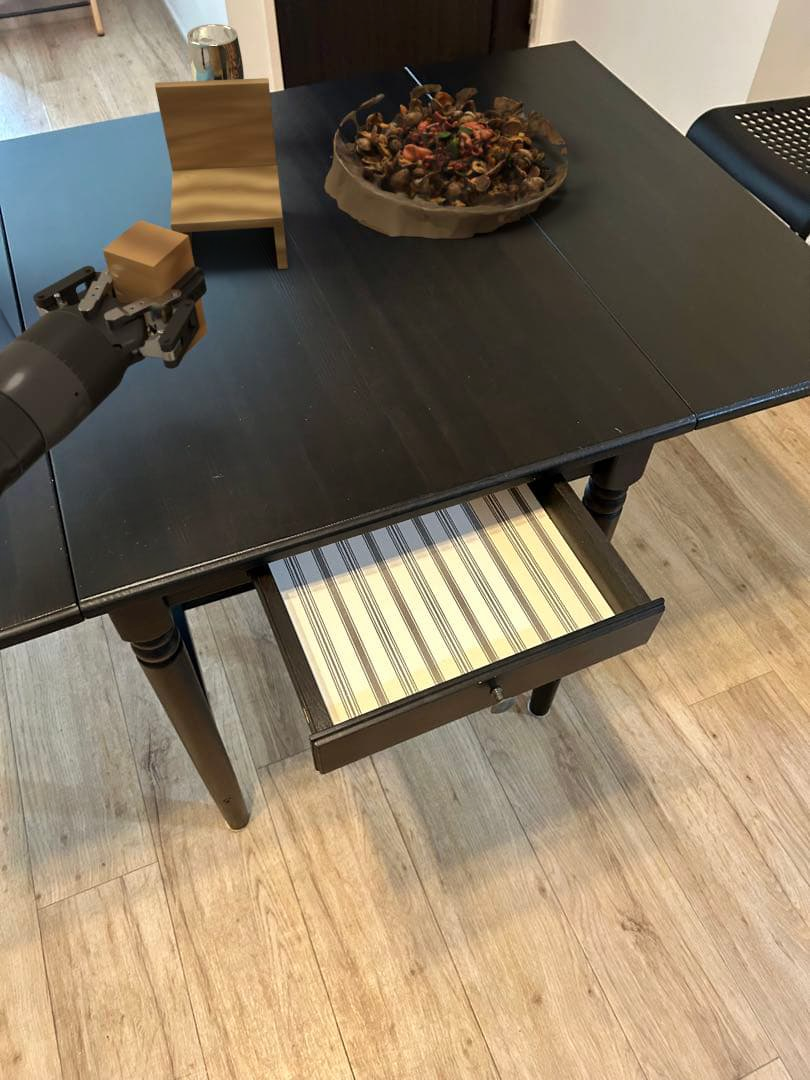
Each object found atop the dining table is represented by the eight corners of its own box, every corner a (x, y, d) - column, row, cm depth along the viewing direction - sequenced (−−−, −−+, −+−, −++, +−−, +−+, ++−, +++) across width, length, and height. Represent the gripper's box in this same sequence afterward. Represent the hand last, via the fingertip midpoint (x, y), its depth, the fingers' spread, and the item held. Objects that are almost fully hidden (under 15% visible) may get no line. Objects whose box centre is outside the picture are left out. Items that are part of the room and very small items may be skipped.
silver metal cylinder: (218, 131, 123) (201, 19, 111) (260, 140, 121) (248, 28, 109) (195, 153, 119) (175, 40, 107) (239, 162, 117) (224, 49, 105)
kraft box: (176, 363, 74) (153, 266, 66) (130, 347, 75) (102, 249, 67) (207, 331, 77) (188, 235, 69) (163, 316, 78) (139, 219, 70)
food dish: (473, 102, 132) (480, 50, 126) (611, 203, 116) (626, 148, 110) (279, 151, 119) (276, 95, 113) (404, 271, 103) (408, 214, 97)
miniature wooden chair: (287, 268, 102) (274, 132, 89) (181, 275, 101) (151, 138, 88) (281, 211, 110) (268, 77, 97) (182, 216, 109) (155, 82, 95)
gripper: (110, 374, 58) (238, 251, 68) (-47, 317, 62) (96, 207, 71) (135, 448, 64) (249, 325, 74) (-10, 391, 68) (117, 281, 77)
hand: (173, 267), depth 73 cm, fingers closed on kraft box, 5 cm apart
